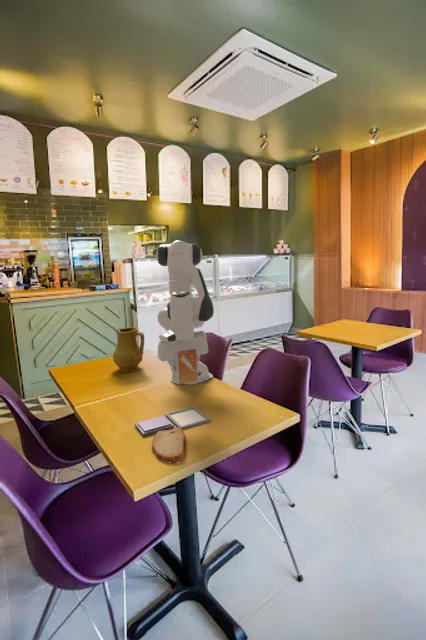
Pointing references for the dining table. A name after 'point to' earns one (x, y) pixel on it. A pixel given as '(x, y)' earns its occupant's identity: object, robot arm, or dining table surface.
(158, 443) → the bread slice
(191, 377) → the small box
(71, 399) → the dining table surface
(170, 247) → the robot arm
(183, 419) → the print frame
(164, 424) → the ink pad
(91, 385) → the dining table surface
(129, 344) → the pitcher
